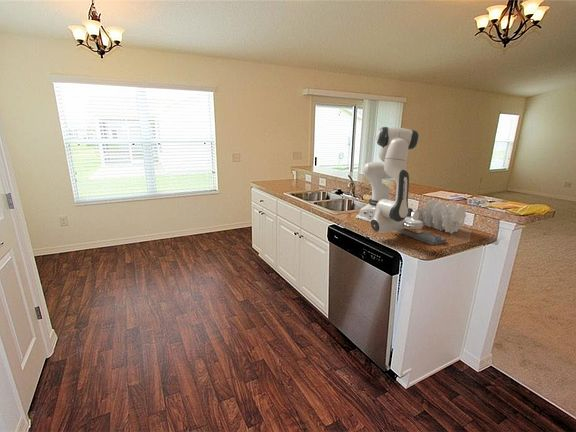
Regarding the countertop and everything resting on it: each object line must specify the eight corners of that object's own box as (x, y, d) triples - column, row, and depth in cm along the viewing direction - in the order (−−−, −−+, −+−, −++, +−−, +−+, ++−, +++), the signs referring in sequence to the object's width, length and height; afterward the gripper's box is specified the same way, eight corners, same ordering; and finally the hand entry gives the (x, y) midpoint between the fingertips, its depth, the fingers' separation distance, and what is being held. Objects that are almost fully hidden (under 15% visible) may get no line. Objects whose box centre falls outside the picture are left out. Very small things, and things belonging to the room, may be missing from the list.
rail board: (397, 231, 175) (397, 228, 175) (409, 229, 179) (410, 226, 179) (432, 245, 153) (432, 241, 153) (445, 242, 157) (446, 239, 157)
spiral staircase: (425, 229, 192) (463, 238, 171) (409, 221, 183) (447, 230, 162) (434, 203, 192) (474, 209, 171) (419, 194, 183) (459, 199, 162)
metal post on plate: (403, 228, 174) (405, 210, 171) (409, 227, 176) (411, 209, 173) (417, 233, 164) (419, 215, 162) (424, 232, 166) (426, 214, 164)
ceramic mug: (404, 215, 210) (405, 205, 208) (413, 218, 203) (414, 207, 201) (392, 217, 207) (393, 206, 205) (401, 220, 199) (402, 209, 197)
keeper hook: (431, 238, 157) (432, 235, 157) (435, 237, 158) (436, 234, 158) (437, 240, 154) (437, 237, 154) (441, 239, 155) (441, 236, 155)
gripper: (412, 221, 154) (431, 218, 159) (384, 212, 172) (402, 210, 177) (410, 233, 155) (429, 229, 161) (384, 223, 174) (401, 220, 179)
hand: (415, 219), depth 169 cm, fingers closed on metal post on plate, 4 cm apart
